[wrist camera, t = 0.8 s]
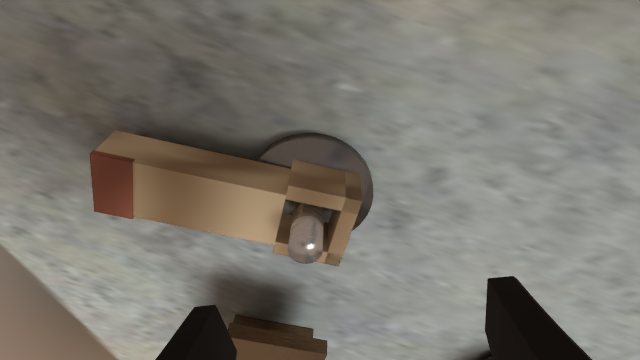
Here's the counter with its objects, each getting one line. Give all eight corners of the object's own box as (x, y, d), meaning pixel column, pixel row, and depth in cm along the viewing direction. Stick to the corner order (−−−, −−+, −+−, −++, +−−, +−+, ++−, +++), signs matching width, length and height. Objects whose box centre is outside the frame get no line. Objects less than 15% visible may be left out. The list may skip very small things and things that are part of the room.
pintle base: (260, 120, 18) (240, 172, 14) (388, 149, 19) (401, 207, 15) (243, 222, 21) (222, 287, 18) (353, 244, 22) (356, 312, 18)
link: (359, 174, 19) (362, 203, 17) (338, 236, 21) (338, 267, 19) (115, 120, 18) (88, 144, 16) (117, 191, 20) (95, 219, 18)
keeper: (243, 270, 23) (226, 336, 20) (328, 286, 24) (326, 354, 20) (231, 333, 26) (214, 400, 23) (307, 346, 27) (302, 414, 23)
